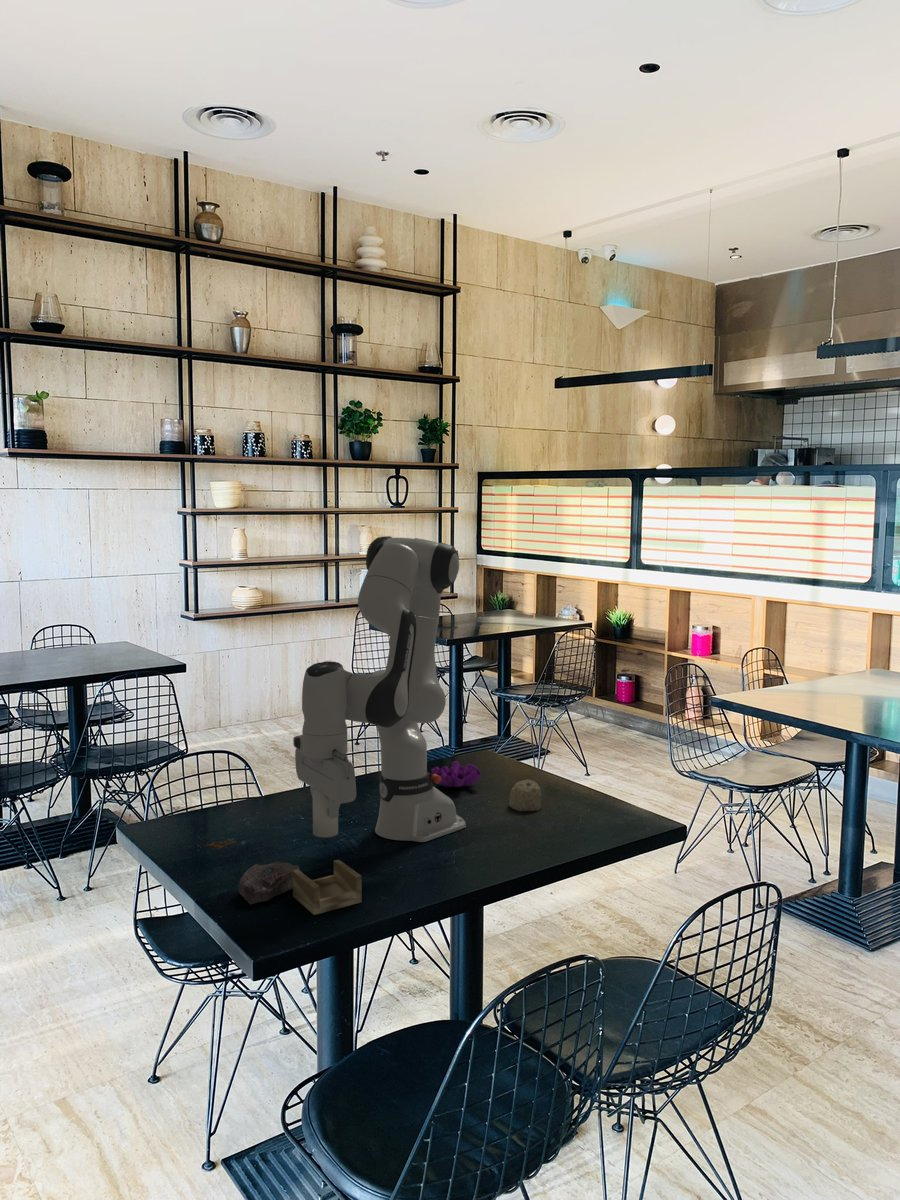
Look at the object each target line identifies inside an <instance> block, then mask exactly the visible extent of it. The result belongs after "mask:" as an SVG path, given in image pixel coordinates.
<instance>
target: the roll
mask: <svg viewBox="0 0 900 1200" xmlns="http://www.w3.org/2000/svg"><path fill="white" fill-rule="evenodd" d="M329 807H330V802H329V797H328V796H326V795H324V794H323V793H321V792H319V791H318V790H316V789H315V788H313V798H312V834H313V836H315V837H317V838H332V837H335V836H337V835H338V833H339V816H338V817H337V818H333V819H332V818H330V817H328V815H327V813H328V812H327V808H329Z"/></svg>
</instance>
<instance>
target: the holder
mask: <svg viewBox="0 0 900 1200" xmlns="http://www.w3.org/2000/svg"><path fill="white" fill-rule="evenodd" d="M292 873H293V888H292V897H293V898H294V899H295V900H296V901H297V902H298V903H300V904H301V905H302V906H303V907H304V908H305V909H306V910H307V911H309V912H310V913H311V914H312V915H313V916H316V915H319V914H320V915H321V914H323V913H326V912H330V911H334V910H338V909H341V908H345V907H349V906H352V905H356V904H360V903H363V901H362V900H363V899H362V898H363V897H362V895H363V894H362V892H363V891H362V875H361V874H359V873H358V872H356V871H355V870H354V869H353V868H351V867H350V866H349V865H347V864H346V863H344V861H341V860H340V859H334V860H333V874H332V875H331V874H330V875H327V876H324V877H319V878H316V879H315V878H314V879H311V878H310V877H308V876H307V875H306V874H304V873H303V872H302V871H301V870H300V871H299V870H298V869H297V870H293V871H292Z"/></svg>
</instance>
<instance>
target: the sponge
mask: <svg viewBox="0 0 900 1200" xmlns="http://www.w3.org/2000/svg"><path fill="white" fill-rule="evenodd" d="M508 806H509V807H510V808H511V809H513V810H515V811H519V812H535V811H539V810H541V808H542V791H541V787H540V786H539V784H538V783H537V782H535V780H531V779H524V780H520V781H518V782H516V783H515V784H514V785H513V786H512V788H511V791H510V794H509V801H508Z"/></svg>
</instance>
